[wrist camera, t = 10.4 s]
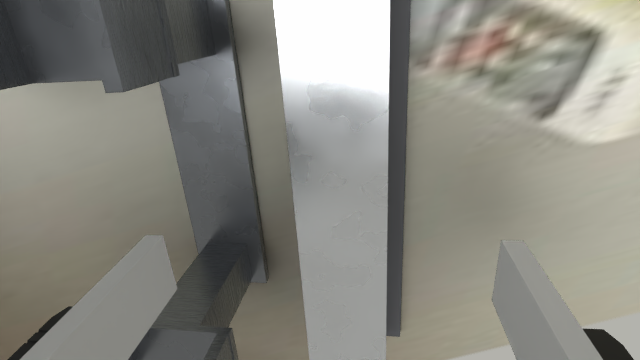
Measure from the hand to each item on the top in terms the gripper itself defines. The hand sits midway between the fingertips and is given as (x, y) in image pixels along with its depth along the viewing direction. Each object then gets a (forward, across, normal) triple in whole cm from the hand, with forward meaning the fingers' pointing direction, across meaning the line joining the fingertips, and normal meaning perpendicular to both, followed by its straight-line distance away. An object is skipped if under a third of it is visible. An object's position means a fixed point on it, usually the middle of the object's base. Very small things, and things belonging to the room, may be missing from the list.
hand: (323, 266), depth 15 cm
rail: (+10, 0, 0) cm, 10 cm away
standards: (+11, -9, +1) cm, 14 cm away
